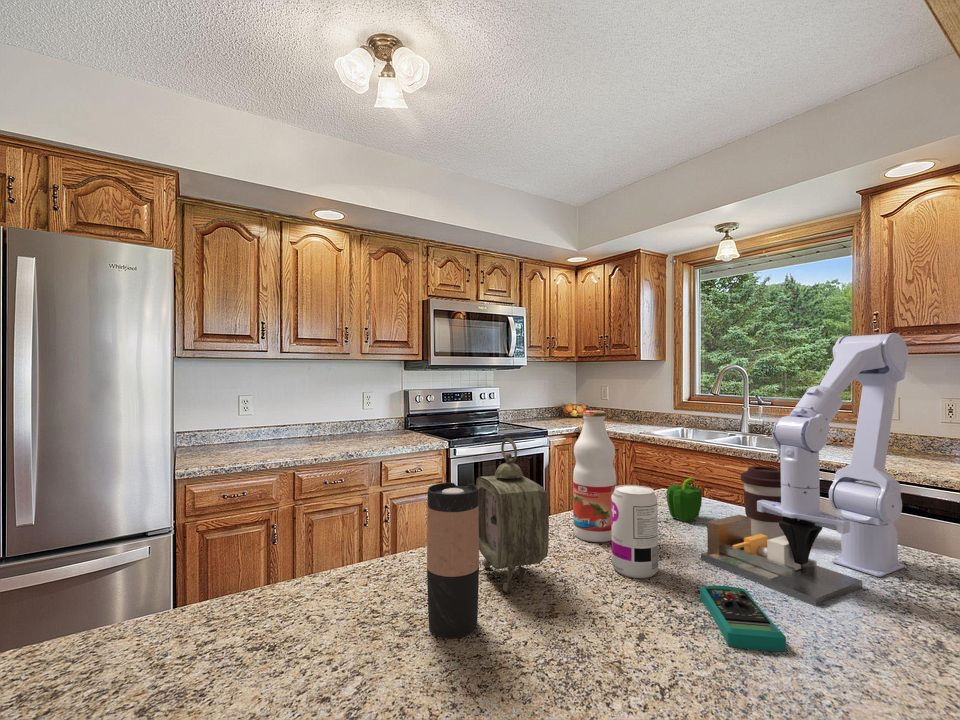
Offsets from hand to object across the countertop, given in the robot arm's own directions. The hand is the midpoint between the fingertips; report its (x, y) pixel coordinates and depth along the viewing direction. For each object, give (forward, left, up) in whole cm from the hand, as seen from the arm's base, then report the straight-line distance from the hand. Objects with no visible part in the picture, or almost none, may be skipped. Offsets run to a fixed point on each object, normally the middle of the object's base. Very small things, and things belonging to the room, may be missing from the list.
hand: (800, 562), depth 86 cm
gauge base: (0, -4, -3) cm, 6 cm away
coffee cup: (-18, -17, -4) cm, 25 cm away
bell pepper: (-12, -34, -4) cm, 37 cm away
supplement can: (+22, -17, -4) cm, 28 cm away
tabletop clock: (+44, -25, -4) cm, 51 cm away
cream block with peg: (0, -4, -2) cm, 5 cm away
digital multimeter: (+22, +3, -4) cm, 23 cm away
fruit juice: (+16, -35, -4) cm, 39 cm away
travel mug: (+60, -15, -4) cm, 62 cm away
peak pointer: (+2, -8, -2) cm, 9 cm away
